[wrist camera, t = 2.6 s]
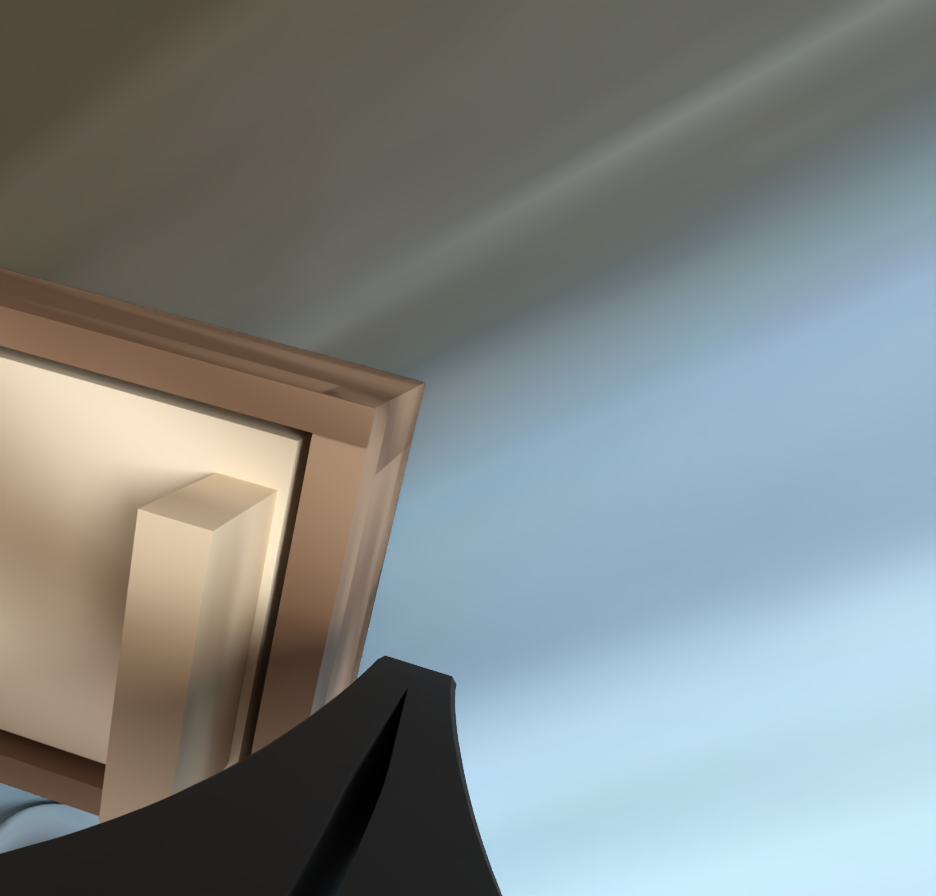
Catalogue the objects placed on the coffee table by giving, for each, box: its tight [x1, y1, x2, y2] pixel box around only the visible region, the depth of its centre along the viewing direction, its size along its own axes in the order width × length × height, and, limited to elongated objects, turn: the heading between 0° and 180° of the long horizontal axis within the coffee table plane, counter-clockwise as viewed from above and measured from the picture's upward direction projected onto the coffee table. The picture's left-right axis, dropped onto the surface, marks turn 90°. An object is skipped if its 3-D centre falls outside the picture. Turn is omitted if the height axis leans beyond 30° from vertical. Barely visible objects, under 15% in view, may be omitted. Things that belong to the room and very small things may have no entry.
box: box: [0, 268, 425, 816], centre depth 14 cm, size 10×11×4 cm
